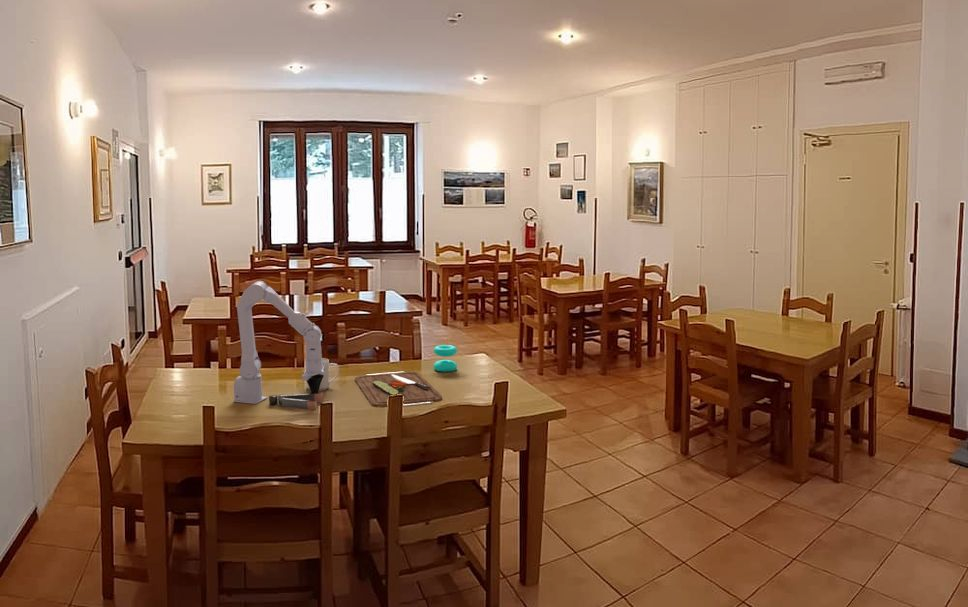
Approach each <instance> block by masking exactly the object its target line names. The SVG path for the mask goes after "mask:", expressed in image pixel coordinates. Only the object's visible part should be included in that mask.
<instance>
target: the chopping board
mask: <svg viewBox="0 0 968 607" xmlns="http://www.w3.org/2000/svg"><path fill="white" fill-rule="evenodd" d="M354 381H355V383H356V384H357V386H358V387H359V389H360V390H361V392H362V393H363V395H364V396H365V397H367V398H366V399H367V400H369V401H368V402H369V404H370V403H371V404H370V405H371V406H372V405H373V407H377V406H383V407H388V406H387V399H388V396H390V395H397V394H402V395H403V396H404V401H403V403H404V404H403V407H411V406H413V407H414V406H422V405H431V404H433V402H439V401H442V400H443V395H441V394H440V392H438V391H437V390H436V388H434V386H432V385H431V384H430V383H429V382H428V381H427V380H426V379H425V378H424V377H423V376H422V374H420V373H419V372H417V371H396V372H394V371H393V372H381V373H370V374H365V375H358V376H356V377H354Z"/></svg>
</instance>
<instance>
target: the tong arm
mask: <svg viewBox="0 0 968 607" xmlns="http://www.w3.org/2000/svg"><path fill="white" fill-rule="evenodd" d="M277 396H278V405H280V406H282V399H283V398H290V399H300V400H310V401H316V403H319V402H320V403H322V402H324V393H323V392H318V393H311V392H310V393H297V394H279V395H277Z"/></svg>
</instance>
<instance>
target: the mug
mask: <svg viewBox="0 0 968 607" xmlns="http://www.w3.org/2000/svg"><path fill="white" fill-rule="evenodd" d="M329 360H330V359H328V358H325V357H322V366H326V371H325V373H323V374H322V375H324V377H323V379H322V381H321V384H320V388H319V392H321V391H325V390H327V389H328V388H329V387H330V384H331V383H332V382H334V381H336V380H337V377H338V376H337V375H338V363H335V362H334V363H333V362H331V363H330V361H329ZM305 364H306V360H305ZM331 366H335V376H334V377H333V378H332V379H330V367H331ZM305 384H306V388H307V389H308V390H309V391H310V388H309V385H308V383H307V381H305Z"/></svg>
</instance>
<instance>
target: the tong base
mask: <svg viewBox="0 0 968 607" xmlns="http://www.w3.org/2000/svg"><path fill="white" fill-rule="evenodd" d="M268 404H269V406H271V407H272V406H277V405H279V404H278V395H277V394H276V395H275V394H273V395H272V394H271V395H268ZM281 406H282V407H283V408H291V409H299V410H300V409H301V410H310V411H316V410H317V402H316V401H310V400H300V399H290V398H283V399H282V405H281Z"/></svg>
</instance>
